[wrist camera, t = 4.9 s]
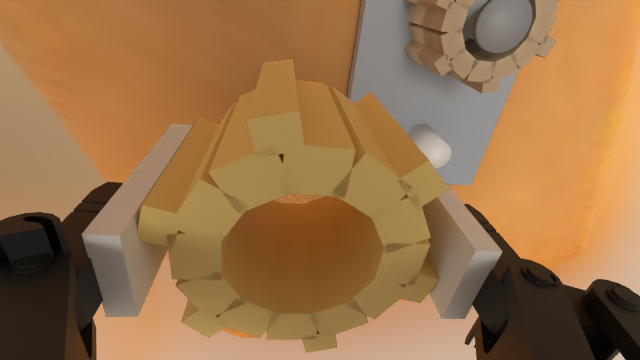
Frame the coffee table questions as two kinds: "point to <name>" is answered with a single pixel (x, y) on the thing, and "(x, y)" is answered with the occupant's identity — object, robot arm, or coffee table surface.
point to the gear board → (436, 81)
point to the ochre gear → (294, 213)
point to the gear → (473, 43)
